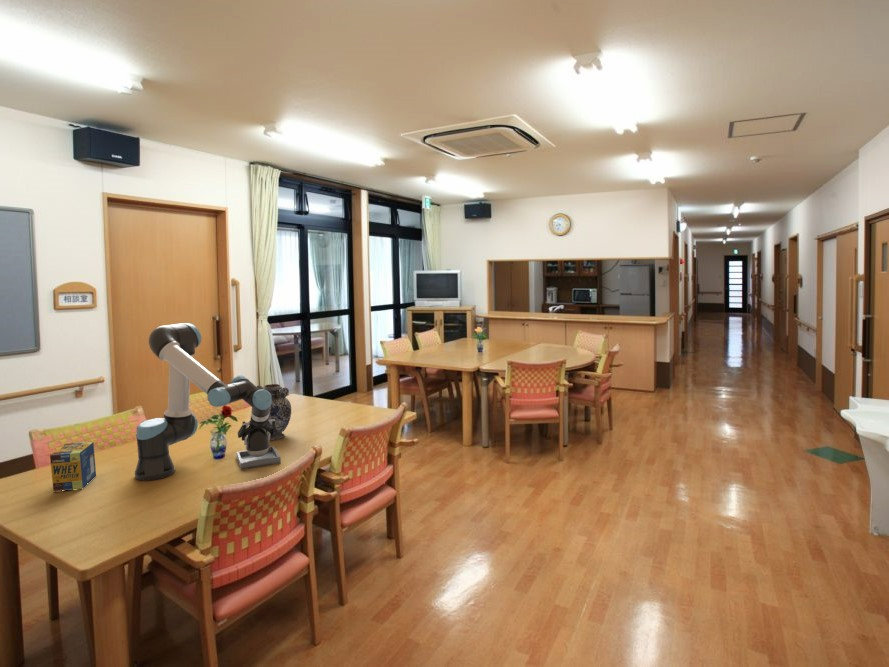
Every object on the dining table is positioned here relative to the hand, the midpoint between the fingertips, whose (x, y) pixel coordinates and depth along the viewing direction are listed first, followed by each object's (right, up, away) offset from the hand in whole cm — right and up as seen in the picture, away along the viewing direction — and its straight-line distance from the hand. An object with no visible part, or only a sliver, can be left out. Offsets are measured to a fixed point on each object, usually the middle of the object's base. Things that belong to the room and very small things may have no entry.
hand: (256, 440), depth 245 cm
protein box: (-65, -13, -27) cm, 72 cm away
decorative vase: (-2, -5, +33) cm, 34 cm away
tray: (+1, -9, -2) cm, 9 cm away
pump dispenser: (+2, -6, -2) cm, 7 cm away
